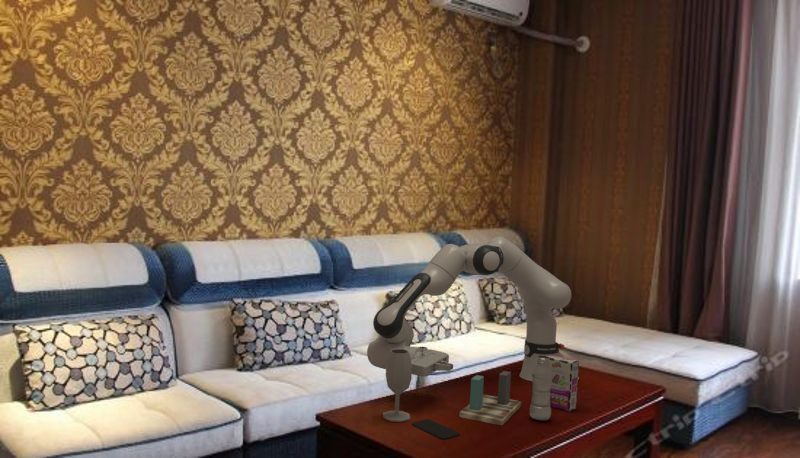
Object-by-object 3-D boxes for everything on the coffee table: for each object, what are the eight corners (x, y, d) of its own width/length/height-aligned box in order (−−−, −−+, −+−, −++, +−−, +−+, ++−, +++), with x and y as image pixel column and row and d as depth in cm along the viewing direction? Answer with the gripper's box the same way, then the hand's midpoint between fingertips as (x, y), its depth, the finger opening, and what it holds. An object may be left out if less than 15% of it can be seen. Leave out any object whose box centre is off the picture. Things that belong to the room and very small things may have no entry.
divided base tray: (459, 416, 219) (459, 409, 219) (480, 398, 238) (481, 392, 238) (502, 425, 214) (502, 418, 213) (521, 406, 232) (521, 399, 232)
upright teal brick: (469, 409, 221) (471, 378, 220) (474, 405, 226) (476, 375, 225) (477, 411, 220) (478, 380, 219) (482, 407, 225) (483, 376, 224)
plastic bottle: (550, 424, 217) (554, 360, 215) (528, 421, 218) (532, 358, 217) (550, 417, 223) (554, 355, 222) (529, 414, 224) (532, 353, 223)
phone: (428, 418, 216) (461, 433, 204) (428, 421, 216) (461, 436, 204) (409, 423, 211) (443, 438, 199) (409, 425, 211) (442, 441, 199)
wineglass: (378, 414, 218) (381, 348, 217) (403, 411, 222) (406, 346, 220) (388, 424, 210) (391, 355, 209) (415, 421, 214) (418, 353, 212)
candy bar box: (576, 409, 232) (579, 360, 231) (569, 412, 229) (572, 363, 228) (547, 400, 240) (550, 353, 239) (539, 403, 236) (542, 355, 235)
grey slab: (497, 404, 228) (499, 374, 227) (501, 400, 232) (503, 370, 231) (504, 406, 226) (506, 375, 226) (509, 401, 231) (511, 372, 230)
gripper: (399, 357, 222) (440, 364, 216) (425, 345, 240) (463, 351, 234) (398, 377, 222) (438, 384, 216) (424, 363, 241) (461, 370, 235)
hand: (451, 367), depth 225 cm, fingers closed
